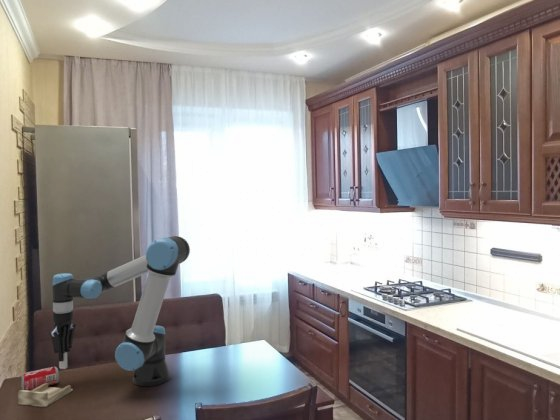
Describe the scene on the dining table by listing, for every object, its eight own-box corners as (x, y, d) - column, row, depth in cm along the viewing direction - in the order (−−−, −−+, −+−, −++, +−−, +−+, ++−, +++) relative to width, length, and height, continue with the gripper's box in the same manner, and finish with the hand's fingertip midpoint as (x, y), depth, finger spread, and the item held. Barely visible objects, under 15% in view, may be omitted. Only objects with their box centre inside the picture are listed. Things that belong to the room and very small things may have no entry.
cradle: (72, 390, 176) (72, 378, 176) (45, 407, 161) (45, 393, 161) (47, 387, 178) (47, 375, 178) (18, 404, 164) (18, 390, 164)
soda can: (58, 365, 181) (22, 372, 173) (59, 383, 180) (23, 391, 172) (55, 366, 187) (20, 373, 179) (56, 383, 185) (21, 392, 177)
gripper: (65, 307, 186) (66, 361, 186) (43, 314, 173) (43, 373, 174) (81, 308, 184) (81, 363, 185) (59, 315, 172) (60, 374, 172)
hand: (63, 367), depth 179 cm, fingers closed
